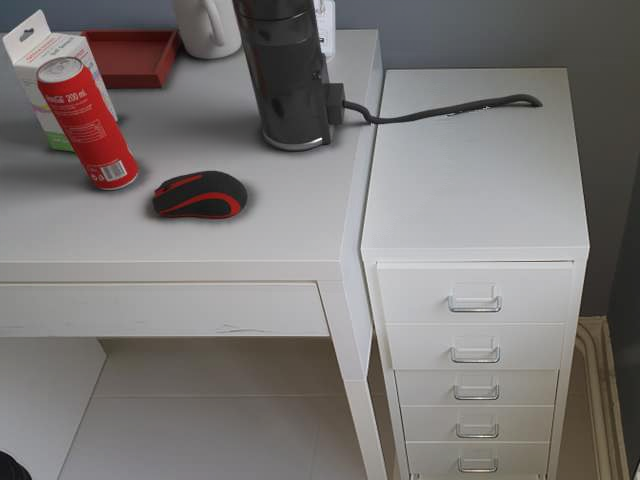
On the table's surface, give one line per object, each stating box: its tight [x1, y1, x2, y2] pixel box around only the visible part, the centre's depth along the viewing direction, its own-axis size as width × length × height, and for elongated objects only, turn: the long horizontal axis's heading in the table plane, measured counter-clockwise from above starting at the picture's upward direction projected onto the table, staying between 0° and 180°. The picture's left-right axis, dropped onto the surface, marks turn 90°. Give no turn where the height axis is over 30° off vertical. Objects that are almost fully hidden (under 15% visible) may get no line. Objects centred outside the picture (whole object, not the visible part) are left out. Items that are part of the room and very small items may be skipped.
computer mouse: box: [151, 170, 249, 219], centre depth 87 cm, size 6×11×4 cm, turn 94°
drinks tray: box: [79, 29, 183, 89], centre depth 108 cm, size 14×13×2 cm
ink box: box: [2, 9, 119, 153], centre depth 92 cm, size 9×5×15 cm, turn 168°
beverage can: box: [35, 56, 139, 191], centre depth 86 cm, size 6×6×15 cm
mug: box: [170, 0, 242, 60], centre depth 108 cm, size 12×8×11 cm
